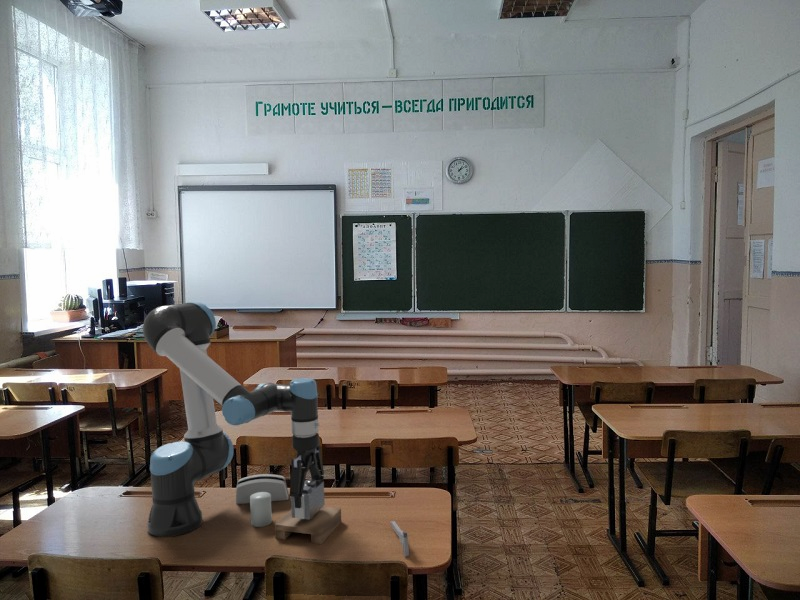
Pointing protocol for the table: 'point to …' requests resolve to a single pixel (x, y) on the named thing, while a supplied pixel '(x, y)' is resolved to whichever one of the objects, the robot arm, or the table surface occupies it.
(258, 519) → the pale grey pebble
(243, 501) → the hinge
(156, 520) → the robot arm
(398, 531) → the caliper
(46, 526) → the table surface
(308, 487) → the housing
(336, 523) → the stand
